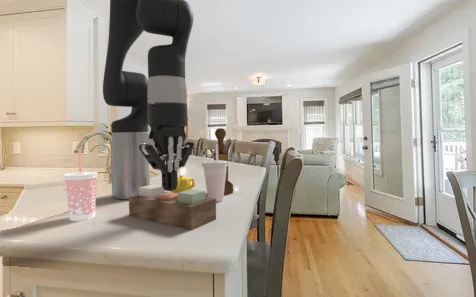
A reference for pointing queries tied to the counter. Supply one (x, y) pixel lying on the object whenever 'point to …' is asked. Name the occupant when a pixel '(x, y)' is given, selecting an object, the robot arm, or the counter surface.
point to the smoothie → (215, 177)
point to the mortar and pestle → (223, 158)
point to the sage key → (191, 196)
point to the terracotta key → (168, 196)
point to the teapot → (184, 184)
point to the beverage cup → (81, 193)
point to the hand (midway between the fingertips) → (169, 190)
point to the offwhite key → (151, 191)
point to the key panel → (173, 211)
